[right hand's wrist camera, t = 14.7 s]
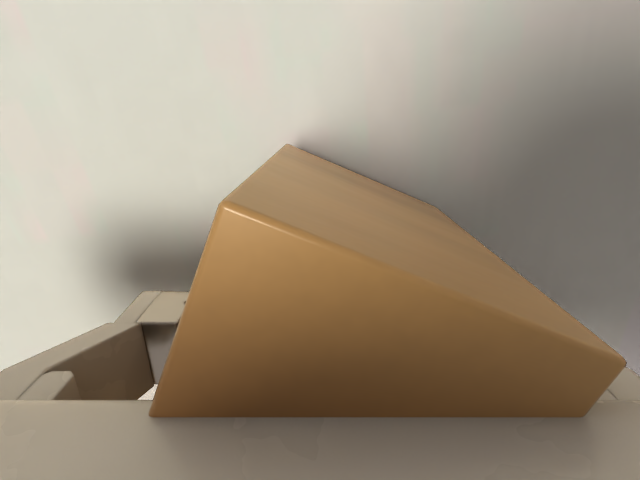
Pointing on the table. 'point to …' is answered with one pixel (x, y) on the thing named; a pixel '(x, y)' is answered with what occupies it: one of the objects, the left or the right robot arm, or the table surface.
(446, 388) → the bar
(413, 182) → the table surface
